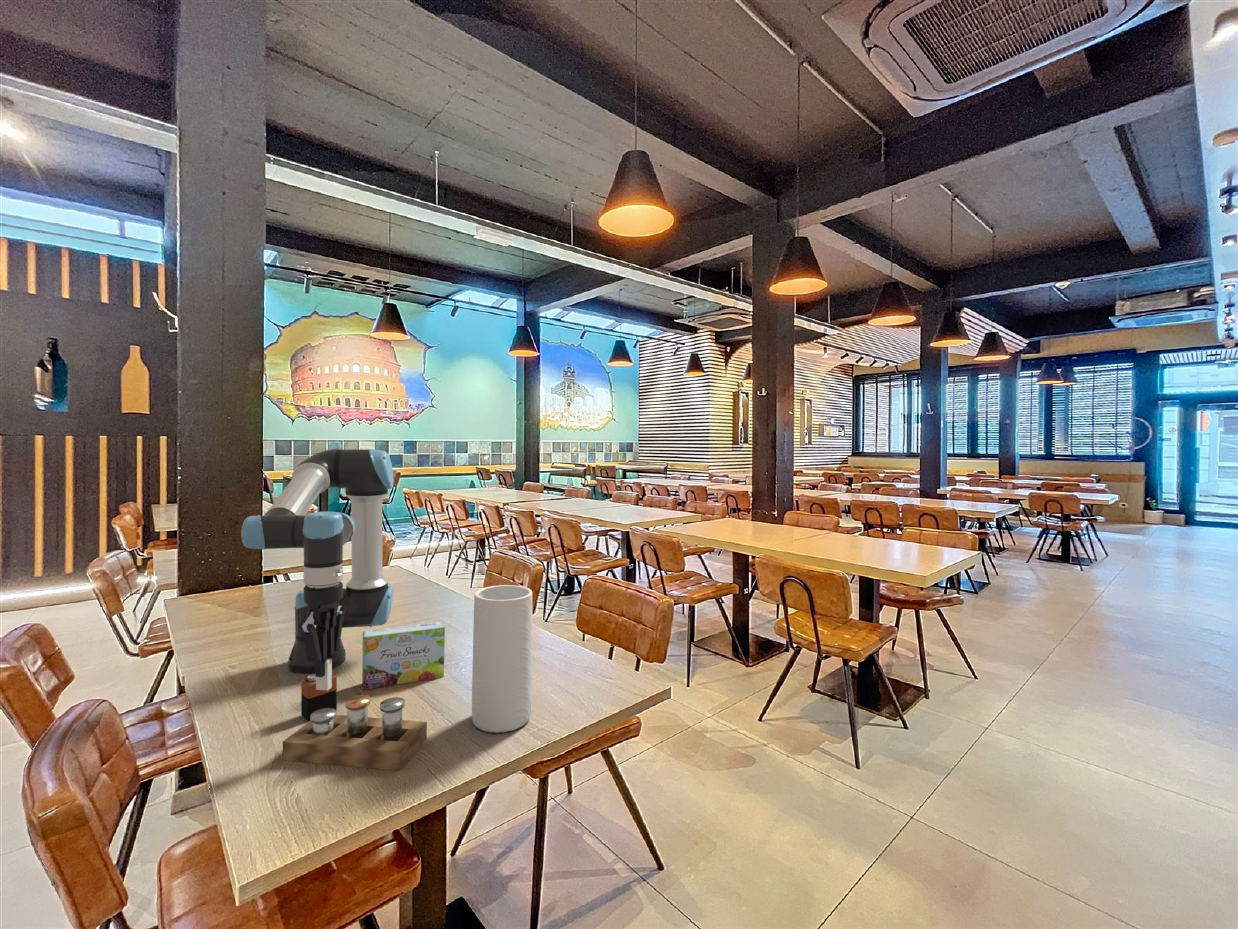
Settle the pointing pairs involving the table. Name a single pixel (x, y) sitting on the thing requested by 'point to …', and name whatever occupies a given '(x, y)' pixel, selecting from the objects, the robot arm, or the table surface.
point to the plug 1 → (323, 721)
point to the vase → (502, 658)
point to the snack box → (403, 654)
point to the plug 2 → (392, 716)
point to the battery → (317, 696)
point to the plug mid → (357, 713)
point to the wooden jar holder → (356, 745)
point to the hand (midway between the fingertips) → (323, 688)
